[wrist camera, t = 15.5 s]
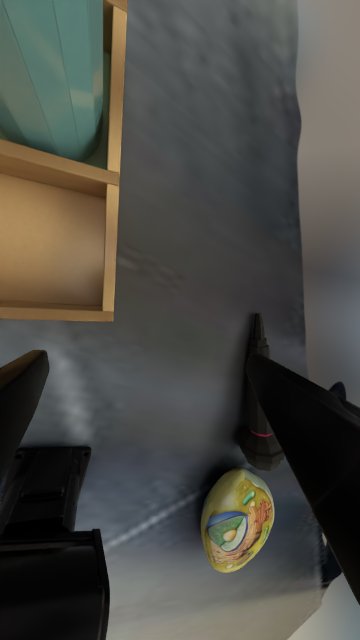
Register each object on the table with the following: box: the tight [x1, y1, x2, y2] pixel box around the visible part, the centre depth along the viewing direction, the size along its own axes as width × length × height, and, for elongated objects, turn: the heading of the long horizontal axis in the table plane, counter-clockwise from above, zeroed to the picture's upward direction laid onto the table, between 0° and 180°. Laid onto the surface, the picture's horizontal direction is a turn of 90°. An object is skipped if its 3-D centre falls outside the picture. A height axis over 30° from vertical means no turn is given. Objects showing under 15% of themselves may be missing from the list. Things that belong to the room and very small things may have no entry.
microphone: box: [238, 313, 284, 471], centre depth 25 cm, size 6×6×20 cm
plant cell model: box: [201, 468, 274, 572], centre depth 27 cm, size 11×8×15 cm
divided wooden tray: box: [0, 0, 128, 322], centre depth 13 cm, size 20×10×4 cm, turn 174°
